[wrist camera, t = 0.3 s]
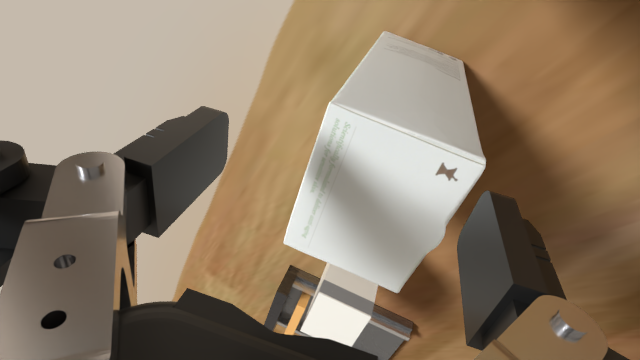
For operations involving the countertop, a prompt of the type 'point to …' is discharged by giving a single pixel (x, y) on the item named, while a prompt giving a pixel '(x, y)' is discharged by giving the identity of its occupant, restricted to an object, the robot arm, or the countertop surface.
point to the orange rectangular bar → (297, 313)
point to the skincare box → (389, 164)
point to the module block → (340, 306)
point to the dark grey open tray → (375, 337)
